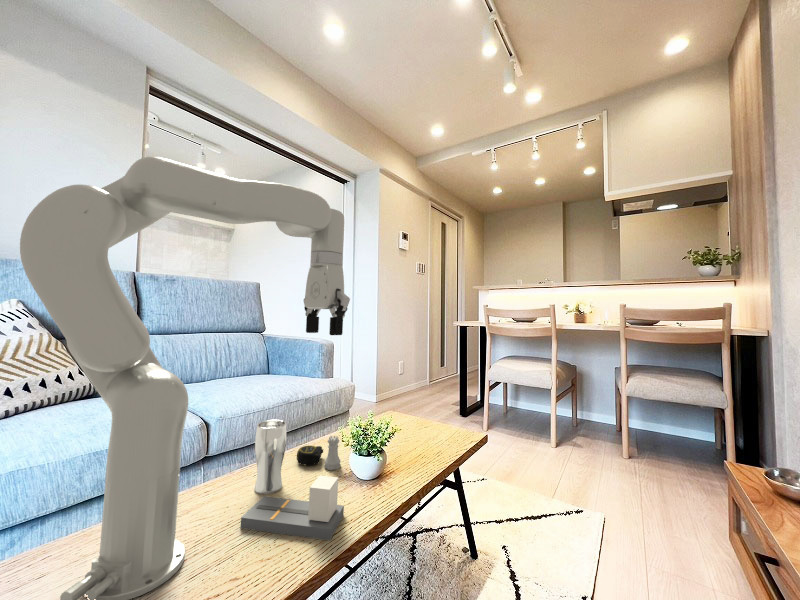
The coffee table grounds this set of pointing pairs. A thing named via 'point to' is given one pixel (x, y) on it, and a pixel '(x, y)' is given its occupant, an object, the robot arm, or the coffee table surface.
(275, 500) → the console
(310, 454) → the tape measure
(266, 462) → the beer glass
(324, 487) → the fader knob
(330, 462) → the rook chess piece
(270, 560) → the coffee table surface
